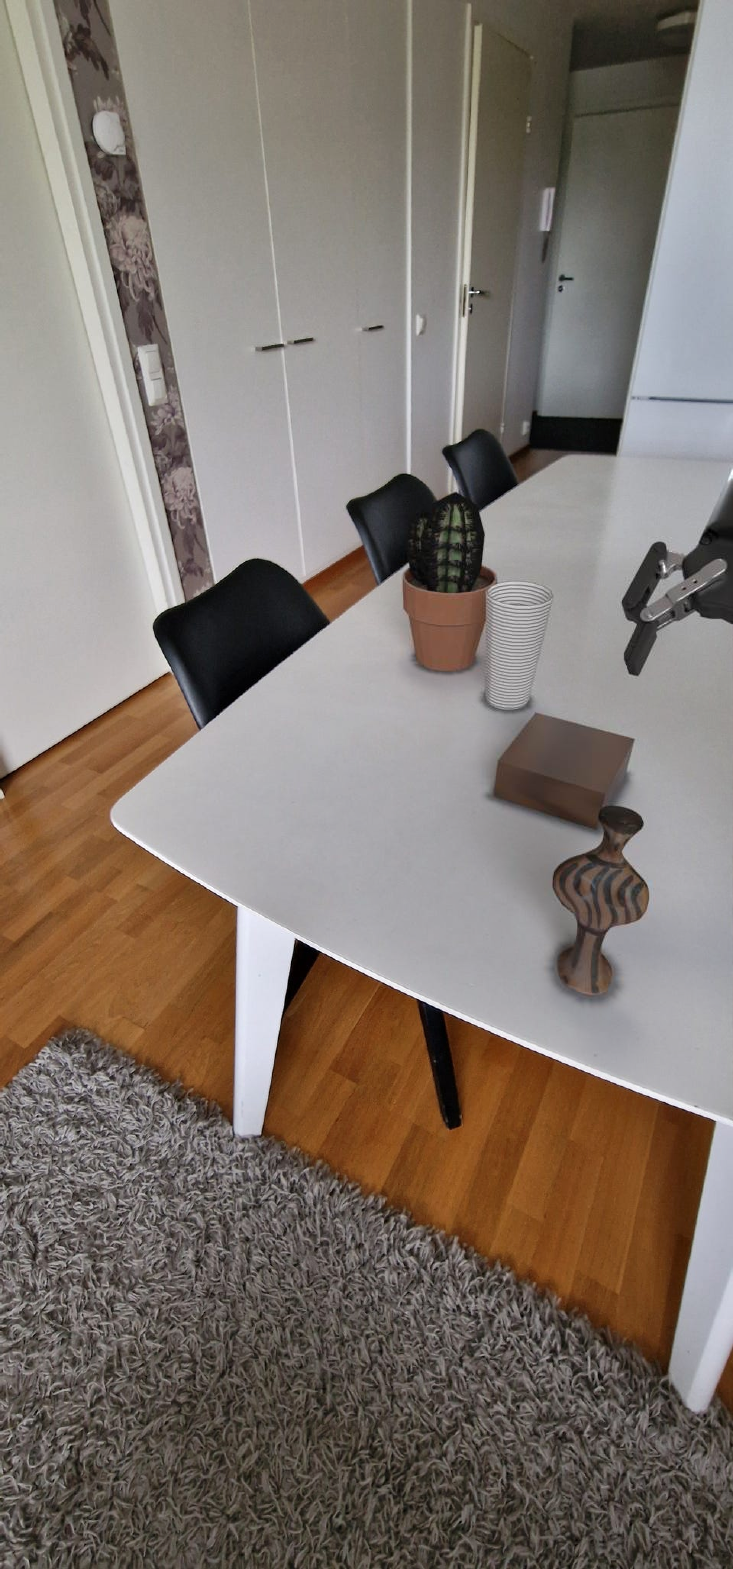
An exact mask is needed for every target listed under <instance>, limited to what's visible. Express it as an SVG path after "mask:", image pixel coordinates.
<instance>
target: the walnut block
mask: <svg viewBox="0 0 733 1569" xmlns="http://www.w3.org/2000/svg"><path fill="white" fill-rule="evenodd" d="M634 744H635V738H633V737H630V736H626V735H623V734H622V735H621V734H618V733H615V732H610V731H606V730H603V729H599V728H595V727H593V726H588V725H585V724H581V723H578V722H573V721H569V720H566V719H562V718H558V717H555V716H551V715H548V714H543V713H539V712H534V713H533V715H531V717H530V719H529V720H528V721H527V723H526V724H525V725H524V726H523V728H522V729H521V730H520V731H519V733H518V734H517V735H516V737H515V738H514V739H513V740H512V741H511V743H510V744H509V746H508V747H507V748H506V749H505V751H504V752H503V753H502V754H501V756H500V757H499V759H498V760H497V762H496V770H495V771H496V772H495V779H494V780H495V781H494V787H493V788H494V789H493V797H494V798H497V799H501V800H504V801H507V802H509V803H513V804H516V805H519V806H522V807H525V808H527V809H531V810H534V811H536V812H540V813H543V814H547V815H550V816H552V817H555V818H558V819H561V820H565V821H567V822H571V823H574V824H577V825H579V826H583V827H586V828H588V829H592V830H595V831H597V830H598V829H599V827H600V825H601V823H600V822H599V820H598V814H599V811H600V809H601V808H603V807H605V806H610V805H611V804H612V801H613V799H614V798H615V796H616V794H617V792H618V791H619V788H620V787H621V784H622V782H623V780H624V778H625V776H626V774H627V771H628V767H629V763H630V759H631V756H632V752H633V748H634Z"/></svg>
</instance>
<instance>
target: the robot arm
mask: <svg viewBox="0 0 733 1569" xmlns="http://www.w3.org/2000/svg"><path fill="white" fill-rule="evenodd" d="M676 571H681V572H682V573H681V574H682V577H683V580H682V581H681V582H679V583H678V584H676V585H675V586H673V587H671V588H669V589H668V590H667V591H666V592H665V594H664V595H663V596H662V597H660V598H659V599H657V600H656V601H654V602H651V604H649V605H648V603H649V601H650V599H651V597H652V596H653V593H654V592H655V590H656V588H657V586H658V585H659V583H660V581H661V580H666V579H668V578H670V577H671V576H672V574H673V573H674V572H676ZM621 606H622V609H623V614H624V617H625V619H626V620H627V621H629V622H632V623H634V624H635V625H636V626H635V628H634V630H633V632H632V635H631V636H630V639H629V641H628V642H627V645H626V647H625V650H624V652H623V661H624V664H625V666H626V670H627V673H628V674H629V675H630V676H634V677H639V676H640V674H641V672H642V670H643V668H644V666H645V664H646V662H647V660H648V658H649V655H650V653H651V651H652V649H653V647H654V645H655V642H656V640H657V638H658V634H657V632H658V631H660V630H662V629H664V628H665V627H667V626H669V625H670V624H672V623H674V622H680V621H681V620H683V619H685V618H687V617H688V616H690V615H692V614H693V613H695V612H696V613H698V614H699V617H700V618H704V619H708V620H723V621H724V622H726V623H728V624H730V625H733V468H731V471H730V473H729V476H728V477H727V479H726V482H725V484H724V486H723V489H722V491H721V493H720V495H719V497H718V499H717V501H716V503H715V506H714V508H713V510H712V512H711V514H710V516H709V518H708V521H707V523H706V525H705V527H704V529H703V531H702V534H701V535H700V538H699V540H698V542H697V544H695V546H694V548H692V549H691V550H690V551H689V552H687V553H682V552H678V551H674V550H670V549H668V548H667V544H666V543H665V542H664V541H660V540H659V541H656V542H654V543H652V544H651V546H650V548H649V549H648V550H647V553H646V554H645V557H644V559H643V560H642V562H641V564H640V566H639V568H638V570H637V571H636V573H635V575H634V577H633V579H632V581H631V583H630V584H629V586H628V588H627V590H626V592H625V594H624V595H623V597H622V599H621Z"/></svg>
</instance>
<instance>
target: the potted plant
mask: <svg viewBox="0 0 733 1569" xmlns="http://www.w3.org/2000/svg"><path fill="white" fill-rule="evenodd" d="M406 532H407V533H406V538H405V540H406V541H405V551H406V556H407V562H408V568H407V569H405V570H404V571H403V572H402V577H401V578H402V580H401V581H402V604H403V605H402V608H403V611H404V612H405V613H406V615H407V616H408V621H409V625H410V626H409V627H410V631H411V636H412V637H411V638H412V642H413V648H414V652H415V659H416V660H417V663H418V664H420V665H421V666H422V667H424V668H426V669H428V670H431V671H437V672H457V671H461V670H463V669H466V668H468V667H469V666H471V665H472V664H473V662H474V661H475V657H476V654H477V651H478V649H479V648H478V647H479V645H480V641H481V638H482V635H483V631H484V628H485V626H486V590H487V589H488V588H489V587H490V586H492V585H494V584H497V583H498V574H497V573H496V572H495V571H493V569H492V568H490V567H489V566H485V565H483V557H484V547H485V539H486V538H485V537H486V533H485V529H484V525H483V521H482V516H481V514H480V509H479V507H478V504H476V503H475V502H473V501H472V500H470V499H468V498H467V497H466V496H464V495H462V494H460V493H459V492H458V491H454V492H452V493H450V494H447V495H445V496H444V497H442V498H440V499H438V500H436V501H435V502H434V504H433V505H431V508H430V510H429V511H426V510H424V509H422V510H421V511H420V512H419V513H417V514H416V515H415V516H414V517H413V518H411V519H410V520H409V523H408V527H407V531H406Z"/></svg>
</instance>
